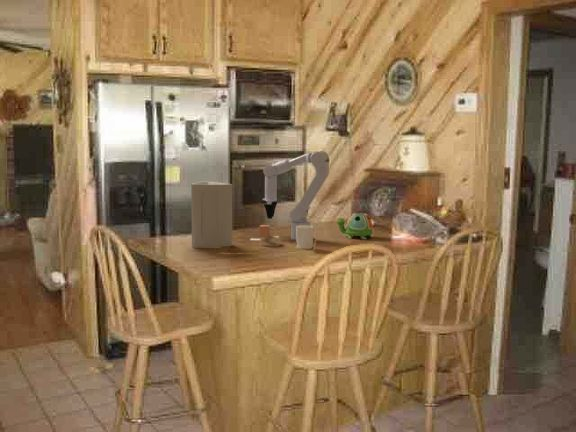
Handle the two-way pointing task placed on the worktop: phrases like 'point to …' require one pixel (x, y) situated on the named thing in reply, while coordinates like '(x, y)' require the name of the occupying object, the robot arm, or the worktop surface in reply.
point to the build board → (259, 240)
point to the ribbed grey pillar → (211, 214)
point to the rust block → (264, 231)
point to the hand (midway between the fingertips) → (270, 217)
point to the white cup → (304, 236)
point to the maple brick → (269, 240)
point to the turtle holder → (357, 226)
